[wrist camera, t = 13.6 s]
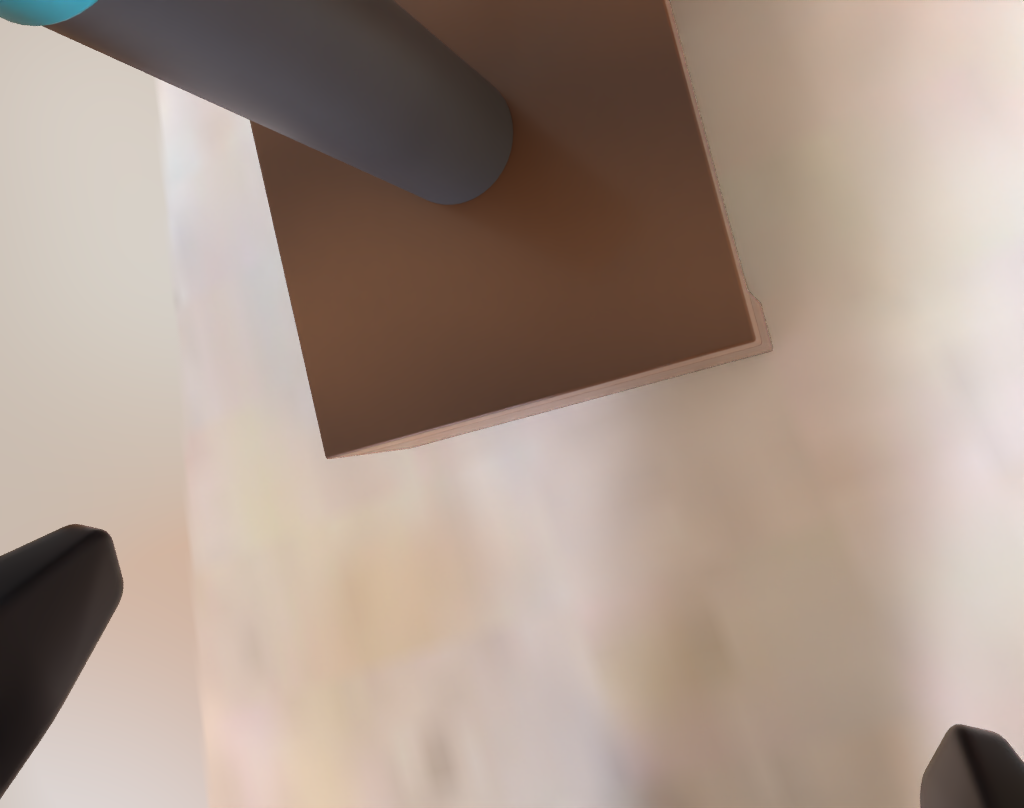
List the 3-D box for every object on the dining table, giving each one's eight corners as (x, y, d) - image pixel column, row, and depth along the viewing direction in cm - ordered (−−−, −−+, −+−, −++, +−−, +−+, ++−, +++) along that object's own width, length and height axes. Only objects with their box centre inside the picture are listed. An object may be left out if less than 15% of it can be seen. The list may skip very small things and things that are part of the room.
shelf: (773, 350, 20) (757, 341, 16) (407, 449, 24) (325, 459, 20) (646, -122, 21) (601, -233, 17) (313, 42, 24) (216, -21, 21)
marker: (498, 221, 18) (-203, -116, 6) (379, 196, 19) (-421, -137, 7) (534, 80, 18) (-135, -579, 6) (411, 61, 19) (-374, -529, 7)
